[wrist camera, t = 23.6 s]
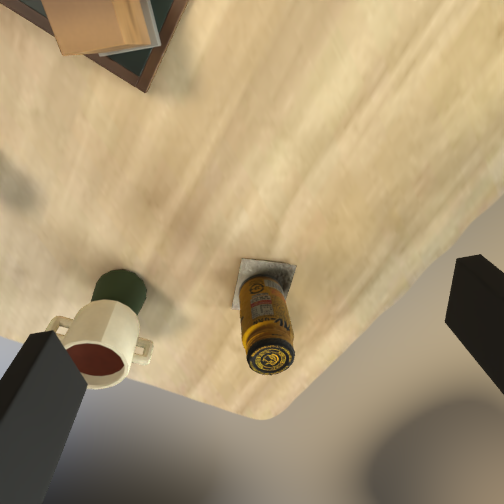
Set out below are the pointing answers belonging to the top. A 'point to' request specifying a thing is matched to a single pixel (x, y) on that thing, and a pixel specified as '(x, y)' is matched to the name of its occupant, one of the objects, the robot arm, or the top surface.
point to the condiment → (265, 314)
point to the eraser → (102, 26)
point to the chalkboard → (123, 64)
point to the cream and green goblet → (107, 330)
